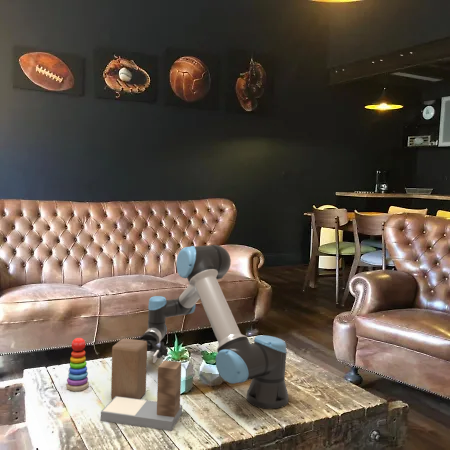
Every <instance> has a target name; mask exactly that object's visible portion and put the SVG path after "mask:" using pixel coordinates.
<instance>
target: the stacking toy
mask: <svg viewBox="0 0 450 450" xmlns="http://www.w3.org/2000/svg"><path fill="white" fill-rule="evenodd" d="M86 345H87V343H86V341H85V339H84V338H82V337H75V338H74V339H73V340H72V342H71V345H70V346H71V349H72V351H71V353H70V354H71V356H70V359H69V361H70V363H69V368H68V374H67V379H66V382H67V383H66V389H67V390H68V391H72V392H79V391H80V392H81V391H84V390H86V389H88V387H89V384H90V383H89V381H88V380H89V378H88V374H89V373H88V366H87V361H86V359H87V358H86V351H85V348H86Z"/></svg>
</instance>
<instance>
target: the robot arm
mask: <svg viewBox="0 0 450 450" xmlns="http://www.w3.org/2000/svg"><path fill="white" fill-rule="evenodd" d="M231 262H232V260H231V255H230V253H229V252H228V251H227V250H226V248H225V247H223V246H222V245H218V244H211V245H195V246H194V245H191V246H185V247H183V248H181V249H180V251H179V252H178V253H177V257H176V272H177V274H178V276H179V277H180V278H183V279H187V281H188V283H189V284H188V285H187V287H186V288H185V289H184V290H183V291H182V293H181V294H180V295H179V296H178V297H177V298H174V299H167V297H165V296H161V295H154V296H151V297H150V298H149V299H148V307H147V308H148V310H147V311H148V312H147V313H148V314H147V315H148V316H147V317H148V321H147V329H146V331H144V333H143V335H141V337H140V338H139V340H143V341H147V352H151V353H154V354H153V355H152V363H154V364H155V363H156V362H157V360H158V359H161V358H162V357H163V356H164V357H168V349H167V347H166V346H165V342H164V341H162V340H163V339H164V338H165V337H166V334H167V332H168V331H167V330H168V328H167V324H166V318H172V317H173V318H174V317H178V316H179V317H180V316H186V315H190V314H193V313H195V311H196V303H197V302H198V301H199V300H200V302H201V305H202V306H203V309H204V311H205V314H206V316H207V319H208V320H209V321H208V322H209V323H210V326H211V328H212V330H213V333H214V336H215V338H216V340H217V342H218V345H217V349H216V351H217V353H216V356H215V362H216V363H215V368H216V370H217V372H218V374H219V376H220V377H221V378H222V380H224V381H225V382H226V383H227V382H228V383H229V384H238V383H244V382H246V381H249V380H251V381H250V384H249V385H248V389H247V392H246V400H247V402H248V403H249V404H251V405H253V406H255V407H258V408H261V409H267V410H269V409H268V408H276V409H279V408H278V407H281V408H283V407H282V406H284V405H285V406H287V405H288V403H289V393H288V388H287V385H286V380H285V378H286V363H287V344H286V342H285V340H284V339H281V338H278V337H277V336H276V337H275V336H271V335H265V334H263V335H260V334H259V335H255V337H254V340H253V343H251V342H250V340H249V339H248V337H247V335H244V334H242V333H241V331H240V328H239V327H238V324H237V322H236V320H235V317H234V315H233V313H232V310H231V308H230V306H229V304H228V302H227V300H226V297H225V295H224V293H223V290H222V288H221V286H220V283H219V281H218V280H221V279H222V278H224V276H225V275H226V274H228V272H229V270H230V267H231ZM286 404H287V405H286ZM285 406H284V407H285Z"/></svg>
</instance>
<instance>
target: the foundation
mask: <svg viewBox="0 0 450 450" xmlns="http://www.w3.org/2000/svg"><path fill="white" fill-rule="evenodd" d="M182 414H183V405H182V404H180V409H179V411H178V413H177V414H176V416H175V417H169V416H161V415H157V400H156V401H154V400H149V399H147V400H146V399H141V398H140V399H133V398H126V397H118V396H115V397H114V399H113V400H112V399H111V400H110V401H109V403H108V404H107V405H106V406H105V407H103V409H102V410H100V422H101V421H102V422H108V423H115V424H121V425H122V424H123V425H130V426H136V427H143V428H151V429H155V430H163V431H170V432H172V430H173V429H174V427H175V426H176V424H177V422H178V421H179V419H180V417H181V415H182Z"/></svg>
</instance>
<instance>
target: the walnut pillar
mask: <svg viewBox="0 0 450 450" xmlns="http://www.w3.org/2000/svg"><path fill="white" fill-rule="evenodd" d="M181 383H182V362H180V361H172V360H163V361H162V362H161V363H160V364H159V365H158V366H157V388H156V389H157V391H156V392H157V393H156V394H157V395H156V397H157V398H156V402H157V415H161V416H169V417H175V416H176V414H177V413H178V411H179V409H180V405H181V387H182V386H181V385H182V384H181Z"/></svg>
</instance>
